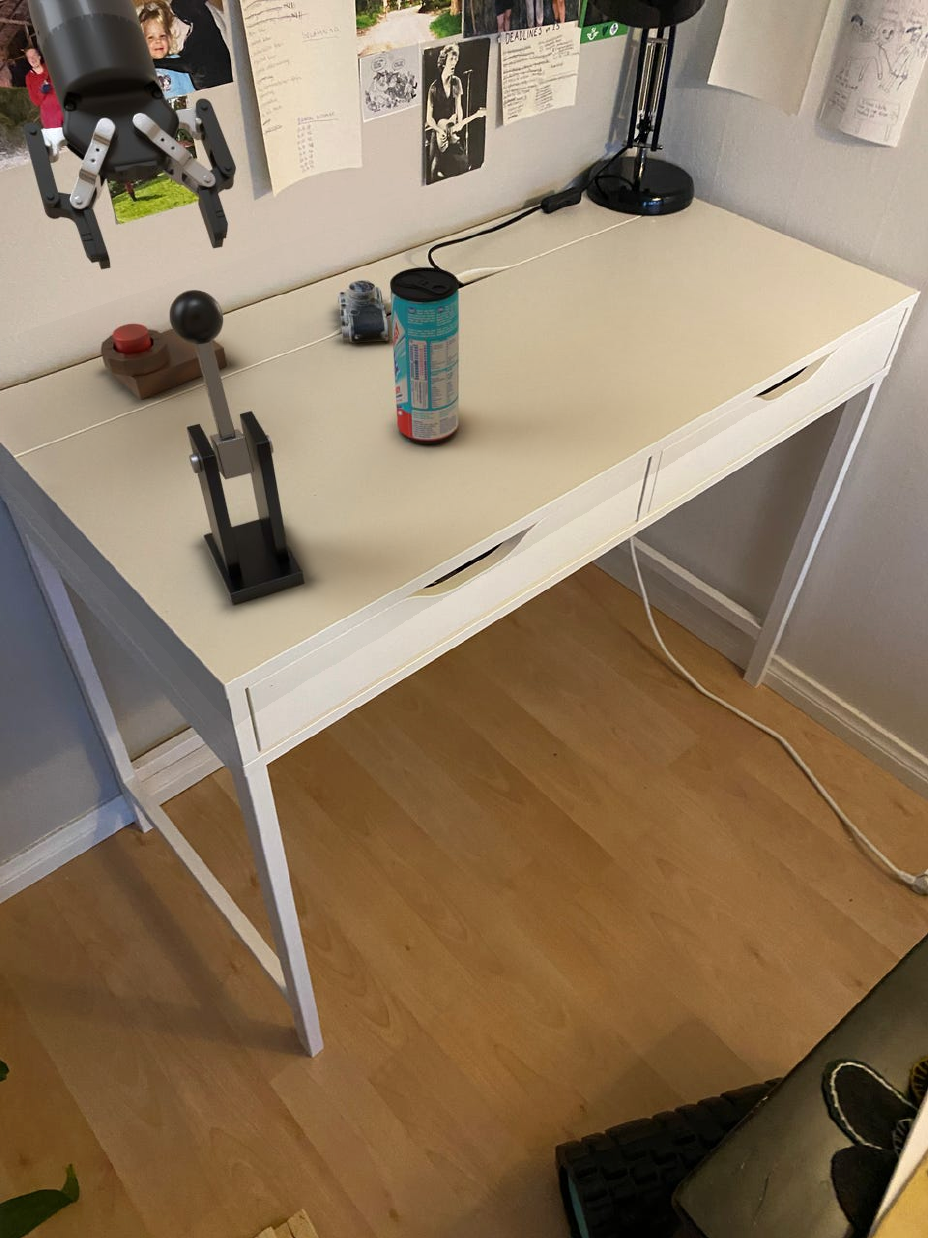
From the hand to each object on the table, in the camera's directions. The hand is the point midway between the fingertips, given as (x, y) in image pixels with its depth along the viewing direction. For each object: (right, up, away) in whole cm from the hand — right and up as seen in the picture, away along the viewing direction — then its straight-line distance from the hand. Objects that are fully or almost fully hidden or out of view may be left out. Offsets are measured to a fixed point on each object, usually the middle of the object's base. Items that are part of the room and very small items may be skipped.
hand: (163, 254), depth 72 cm
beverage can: (+19, -9, +21) cm, 30 cm away
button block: (-8, -1, +28) cm, 30 cm away
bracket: (+5, -23, +7) cm, 25 cm away
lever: (+4, -10, -2) cm, 11 cm away
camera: (+12, +6, +35) cm, 38 cm away
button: (-11, 0, +25) cm, 27 cm away
